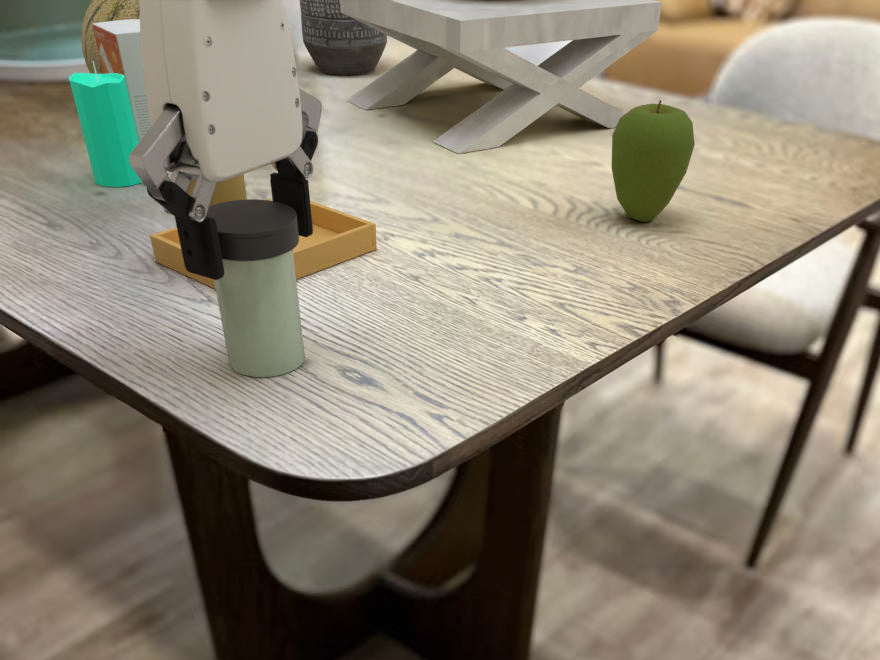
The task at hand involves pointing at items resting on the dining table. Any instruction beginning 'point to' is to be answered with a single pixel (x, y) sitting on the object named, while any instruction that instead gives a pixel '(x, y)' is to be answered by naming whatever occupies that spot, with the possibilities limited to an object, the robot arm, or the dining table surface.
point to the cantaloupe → (106, 5)
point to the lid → (254, 228)
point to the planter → (339, 39)
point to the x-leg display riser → (504, 56)
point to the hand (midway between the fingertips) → (252, 252)
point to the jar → (261, 315)
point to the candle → (106, 126)
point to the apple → (650, 158)
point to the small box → (125, 63)
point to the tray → (324, 248)
